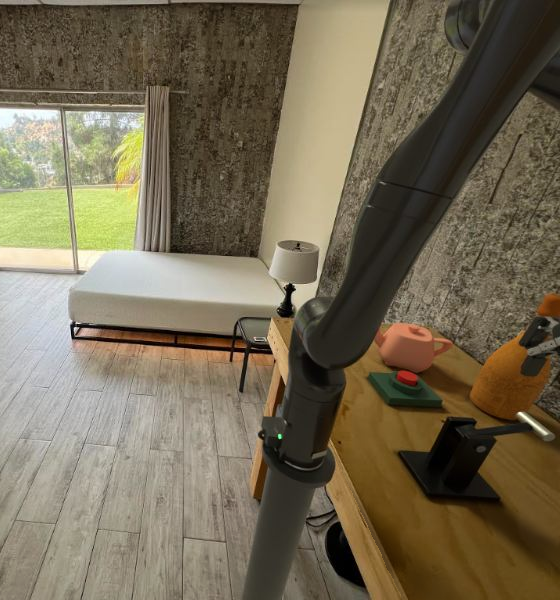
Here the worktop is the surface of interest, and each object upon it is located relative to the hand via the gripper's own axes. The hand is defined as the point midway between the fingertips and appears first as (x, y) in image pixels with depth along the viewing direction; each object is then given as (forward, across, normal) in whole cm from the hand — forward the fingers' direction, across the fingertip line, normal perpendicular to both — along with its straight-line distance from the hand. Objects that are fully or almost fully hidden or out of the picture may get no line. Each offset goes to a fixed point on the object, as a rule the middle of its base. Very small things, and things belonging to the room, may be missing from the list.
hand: (553, 392), depth 51 cm
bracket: (+21, 0, -9) cm, 23 cm away
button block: (+21, -24, -3) cm, 32 cm away
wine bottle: (+21, -20, +16) cm, 33 cm away
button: (+18, -24, -3) cm, 30 cm away
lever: (+10, 0, -4) cm, 11 cm away
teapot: (+22, -38, +4) cm, 44 cm away
